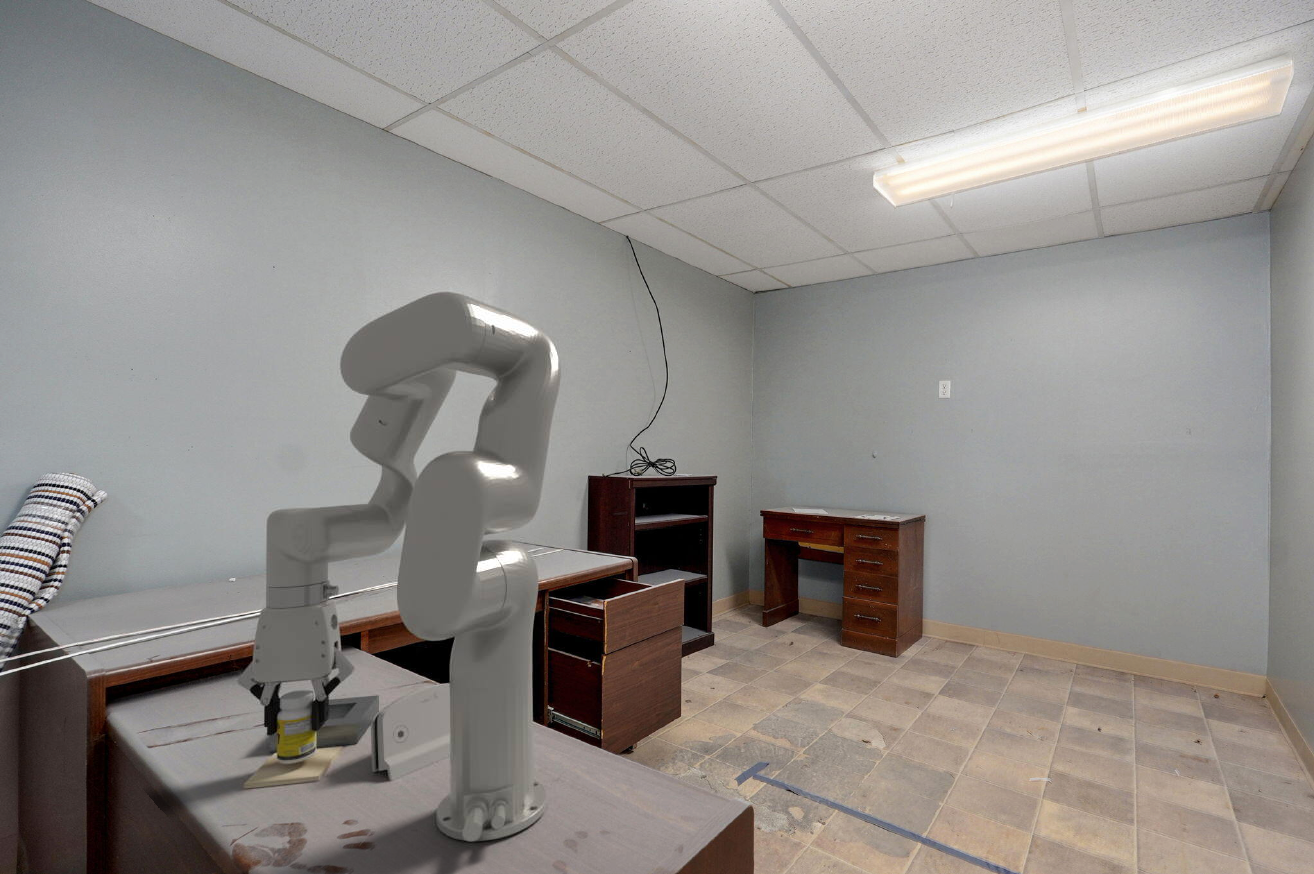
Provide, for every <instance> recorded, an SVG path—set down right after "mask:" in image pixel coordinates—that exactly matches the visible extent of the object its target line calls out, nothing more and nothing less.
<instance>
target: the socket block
mask: <svg viewBox="0 0 1314 874" xmlns="http://www.w3.org/2000/svg"><path fill="white" fill-rule="evenodd" d="M379 711H380V695H369V696H368V695H367V696H358V697H357V696H356V697H345V698H334V699H333V698H332V699H330V698H329V717H328V720H327V721H326V722H325V724H324V725H323V726H322V727H321V728H320V729H319V730H318V731H316V749H320V748H330V747H340V746H347V745H358V744H359V743H358V742H360V741H361V740H362V737H363V736H364V735H365V733H366V732H367V730H368V729H369V728H370V727H371V720H372V718H373V717H374V716H375V715H376V714H377V713H378V712H379ZM269 753H277V732H276V733H274V734H273V735H270V736H269Z"/></svg>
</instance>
